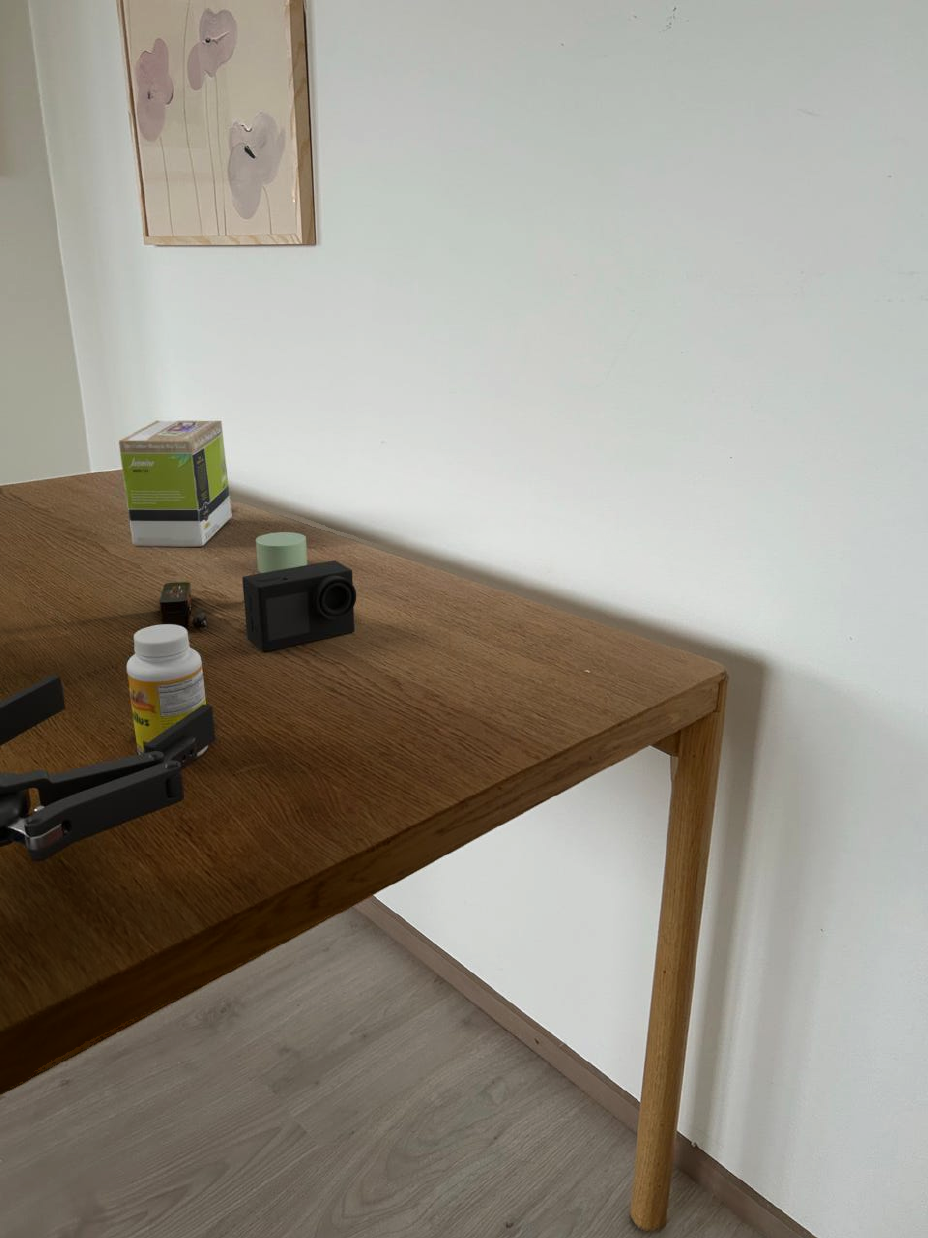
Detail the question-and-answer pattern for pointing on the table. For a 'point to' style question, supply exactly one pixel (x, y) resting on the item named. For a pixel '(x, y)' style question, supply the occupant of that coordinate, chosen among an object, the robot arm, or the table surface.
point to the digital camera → (298, 605)
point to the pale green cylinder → (280, 551)
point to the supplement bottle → (163, 681)
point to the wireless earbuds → (179, 606)
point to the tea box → (175, 482)
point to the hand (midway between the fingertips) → (132, 706)
